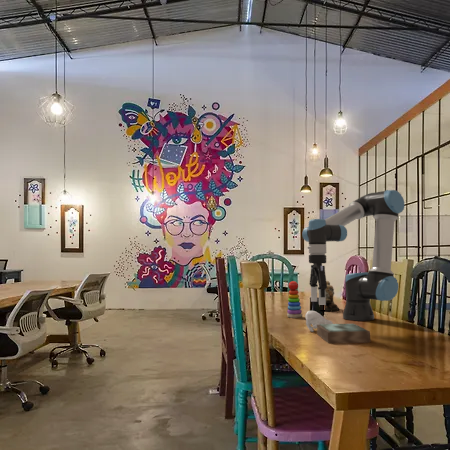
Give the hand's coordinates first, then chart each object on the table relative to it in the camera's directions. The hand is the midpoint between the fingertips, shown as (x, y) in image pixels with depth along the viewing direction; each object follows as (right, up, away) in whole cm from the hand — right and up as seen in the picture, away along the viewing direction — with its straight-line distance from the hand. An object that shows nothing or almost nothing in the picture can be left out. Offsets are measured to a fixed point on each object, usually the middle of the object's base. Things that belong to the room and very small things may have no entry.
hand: (318, 303), depth 179 cm
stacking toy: (-4, -15, +37) cm, 40 cm away
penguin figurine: (0, -12, -1) cm, 12 cm away
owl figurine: (+20, -16, +62) cm, 67 cm away
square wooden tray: (+6, -11, -16) cm, 20 cm away
